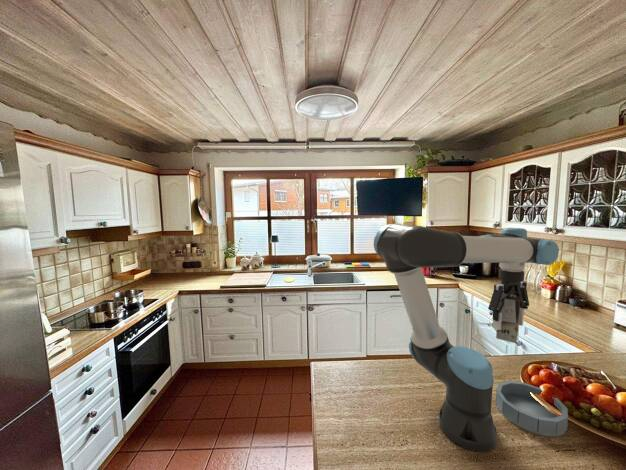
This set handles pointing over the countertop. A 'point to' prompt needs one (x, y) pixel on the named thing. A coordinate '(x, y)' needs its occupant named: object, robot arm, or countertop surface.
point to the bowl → (530, 409)
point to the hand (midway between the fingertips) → (507, 326)
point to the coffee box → (509, 319)
